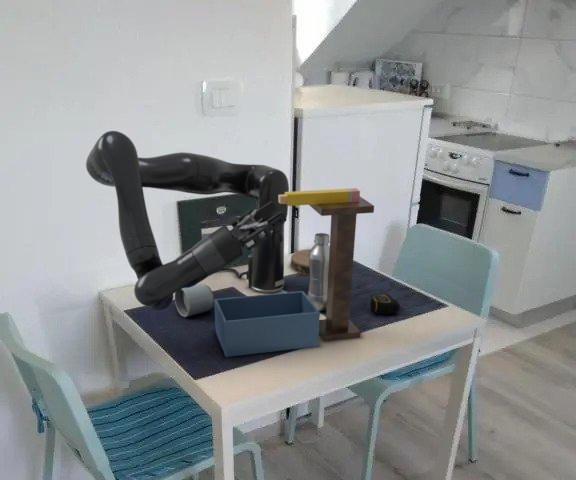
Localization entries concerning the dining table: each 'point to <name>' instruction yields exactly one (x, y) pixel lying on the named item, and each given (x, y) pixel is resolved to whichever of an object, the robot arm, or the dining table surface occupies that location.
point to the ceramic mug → (194, 300)
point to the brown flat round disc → (301, 262)
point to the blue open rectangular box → (266, 323)
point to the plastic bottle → (319, 271)
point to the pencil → (319, 197)
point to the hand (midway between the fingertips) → (279, 210)
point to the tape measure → (384, 304)
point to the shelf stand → (340, 267)
